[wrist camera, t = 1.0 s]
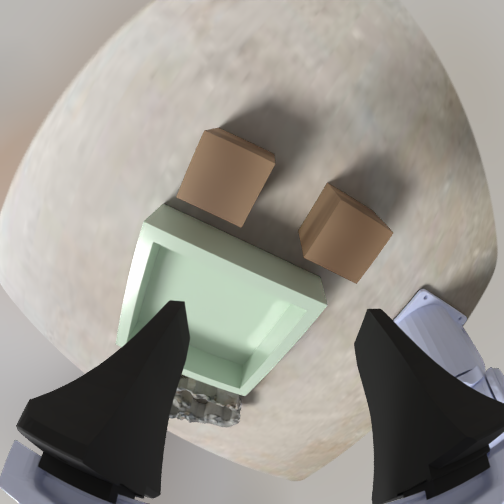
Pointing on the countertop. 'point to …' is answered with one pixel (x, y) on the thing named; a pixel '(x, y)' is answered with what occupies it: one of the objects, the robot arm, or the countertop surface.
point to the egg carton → (214, 411)
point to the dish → (219, 298)
